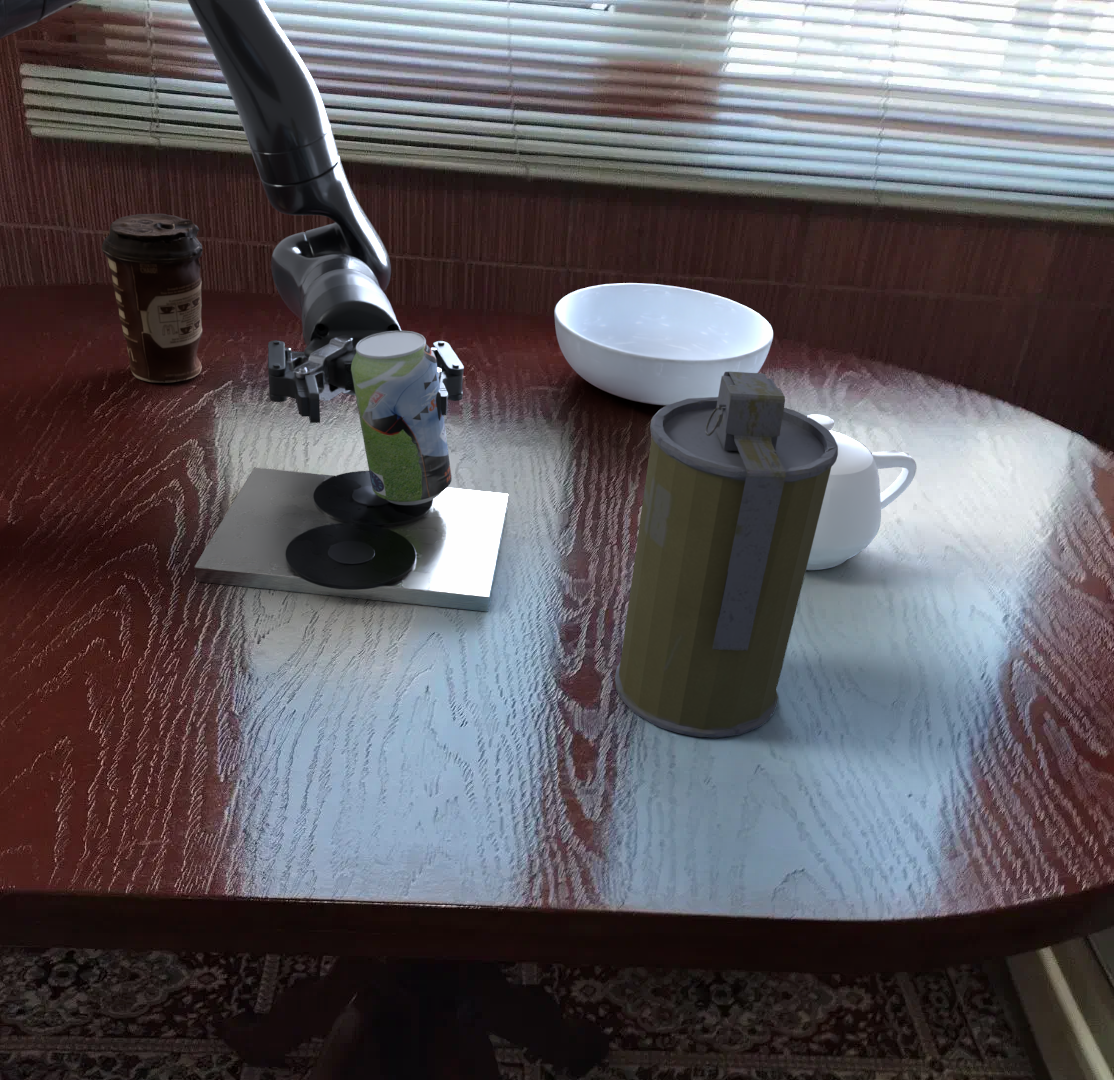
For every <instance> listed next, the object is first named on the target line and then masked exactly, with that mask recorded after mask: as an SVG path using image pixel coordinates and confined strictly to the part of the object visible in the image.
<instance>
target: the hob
mask: <svg viewBox="0 0 1114 1080" xmlns="http://www.w3.org/2000/svg"><path fill="white" fill-rule="evenodd" d="M509 497H510V495H509V493H503V492H495V491H494V492H493V491H483V490H474V489H466V488H465V489H464V488H458V487H457V488H456V487H447V488H446V489H445V490H444V491H442V492H441V494H440V495H439V496H438V497H436V498H435V499H433V500H431V501H428V502H425V503H421V504H416V505H398V504H394V503H391V502H389V501H387V500H386V499H383V498H381V497H379V496H378V495H376V494H375V493H374V491H373V489H372V485H371V479H370V473H369V470H356V471H349V472H345V473H340V474H336V475H331V474H322V473H321V474H320V473H313V472H302V471H293V470H284V469H283V470H282V469H274V468H265V467H253V469H252V470H251V472H250V474H249V475H248V477H247V479H246V480H245V482H244V483H243V485H242V487H241V488H240V489H239V491H238V493H237V495H236V497H235V499H234V500H233V501H232V503H231V505H230V507H229V508H228V510H227V512H226V513H225V515H224V516H223V519H222V520H221V522H220V523H219V525H218V527H217V529H216V530H215V531H214V533H213V535H212V537H211V539H210V540H209V541H208V543H207V545H206V547H205V549H204V550H203V552H202V554H201V555H200V556H199V558H198V560H197V562H196V564H195V565H194V576H195V582H197V583H206V584H216V585H226V586H234V587H235V586H236V587H246V588H255V589H264V590H274V591H284V592H293V593H301V594H302V593H303V594H312V595H313V594H314V595H321V596H330V597H331V596H333V597H340V598H352V599H361V600H370V601H371V600H372V601H380V602H391V603H398V604H399V603H401V604H407V605H408V604H409V605H419V606H429V607H437V608H438V607H439V608H448V609H456V610H467V611H477V612H486V613H488V612H489V609H490V604H491V599H492V593H493V589H494V584H495V583H494V582H495V578H496V572H497V567H498V562H499V556H500V551H501V546H502V541H503V535H504V529H505V524H506V519H507V514H508V509H509V499H510V498H509Z"/></svg>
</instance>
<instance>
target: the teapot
mask: <svg viewBox="0 0 1114 1080" xmlns="http://www.w3.org/2000/svg"><path fill="white" fill-rule="evenodd" d="M806 416H807V417H809V418H811V419H813V420H815V421H816V422H818V423H819V424H821V425H822V426H823V427H825V428H826V429H828V430H829V431H830V433H831V434H832V435H833V436H834V438H835V440H836V443H837V446H838V456H837V459H836V462H835V463H834V465H833V466H832V467H831V471H830V475H829V479H828V483H827V487H826V491H825V495H824V499H823V503H822V507H821V511H820V515H819V519H818V523H817V527H816V531H815V535H814V540H813V544H812V548H811V552H810V556H809V560H808V564H807V568H806V571H821V570H827V569H831V568H835V567H838V566H840V565H842V564H844V563H845V562H846V561H848V560H849V559H851V558H853V557H855V556H857V555H858V554H859V553H861V552H863V551H864V550H865V549H866V548H867V547H868V546H869V545H870V544H871V543H872V541H873V540H874V539H875V537H876V536H877V534H878V532H879V530H880V529H881V528H880V527H881V521H882V510H883V509H884V508H886V507H887V506H889V505H890V504H891V503H892V502H893V501H895V500H896V499H897V498H898V497H900V496H901V495H902V494H903V493H904V492H905V491H906V490H907V489H908V488H909V486H910V485H911V484H912V482H913V481H914V479H915V475H916V472H917V463H916V460H915V459H914V458H913V457H912V456H911V455H910V454H909V452H903V451H898V450H884V451H874V452H873V451H871V450H870V449H869V448H868V447H867V446H866V445H864V444H863V443H862V442H860V441H859V440H857V439H855V438H853V437H852V436H849V435H847V434H844V433H842V432H839V431H835V430H832V429H833V427H834V426H835V421H834V419H833V418H831V417H829V416H828V415H824V414H820V413H819V414H818V413H816V414H815V413H813V414H808V415H806ZM889 468H890V469H892V468H901V472H900V474H899V476H898V477H897V478H896V480H894V482H893V483H892V484H891V485H890V486H888V487H887V488H886V489H885V490H884V491H883V492H881V484H880V476H879V475H880V474H879V470H882V469H889Z"/></svg>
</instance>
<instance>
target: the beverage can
mask: <svg viewBox="0 0 1114 1080" xmlns="http://www.w3.org/2000/svg"><path fill="white" fill-rule="evenodd" d="M356 351H357V352H356V354H355V356H354V358H353V361H352V365H351V371H352V377H353V383H354V388H355V394H356V395H355V399H356V404H357V411H358V416H359V421H360V428H361V433H362V434H361V435H362V439H363V445H364V450H365V455H366V462H367V467H368V471H369V473H370V479H371V485H372V489H373V491H374V493H375V494H376V495H378V496H379V497H381V498H383V499H386V500H387V501H389V502H391V503H394V504H398V505H416V504H421V503H425V502H428V501H431V500H433V499H435V498H436V497H438V496H439V495H440V494H441V492H442V491H444V490H445V489H446V488H449V486H450V485H451V483H452V471H451V463H450V453H449V447H448V440H447V432H446V424H445V415H442V413H441V418H440V420H439V418H438V412H437V405H436V395H437V392H438V391H439V390H440V385H439V377H438V369H437V362H436V357H435V355H434V353H433V351H432V350H431V347H430V346H429V345H428V344H427V339H426V338H425V336H424V335H423V334H421V333H418V332H416V331H412V330H411V331H410V330H401V331H388V332H382V333H377V334H374V335H371V336H368V337H366V338H364V339H362V340H360V341H359V342H358V343H357V345H356Z"/></svg>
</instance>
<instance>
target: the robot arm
mask: <svg viewBox="0 0 1114 1080" xmlns="http://www.w3.org/2000/svg"><path fill="white" fill-rule="evenodd" d="M81 1H82V0H0V40H2V39H5V38H6V37H10V36H11V35H13V34H16V33H18V32H20V31H22V30H24V29H27V28H29V27H31V26H33V25H35V24H38V23H39V22H41V21H43V20H45V19H47V18H48V17H51V16H52V15H54V14H56V13H58V12H61V11H63V10H64V9H66V8H69V7H70V6H72V5H73V6H74V5H75V4H77V3H79V2H81ZM187 3H188V5H189V7H190V8H191V11H192V12H193V15H194V17H195V18H196V21H197V23H198V25H199V26H200V29H201V31H202V33H203V35H204V37H205V40H206V41H207V43H208V45H209V47H210V50H211V52H212V54H213V56H214V58H215V61H216V62H217V65H218V66H219V69H220V71H221V74H222V76H223V79H224V81H225V83H226V86H227V88H228V91H229V93H230V95H231V98H232V101H233V104H234V106H235V108H236V112H237V114H238V117H239V119H240V123H241V125H242V129H243V131H244V134H245V137H246V141H247V143H248V146H249V149H250V153H251V155H252V158H253V161H254V164H255V166H256V170H257V173H258V175H259V179H260V181H261V184H262V187H263V190H264V193H265V196H266V198H267V200H268V202H269V203H270V205H271V206H272V208H273V209H275V210H276V211H277V212H278V213H281V214H284V215H289V216H321V217H326V218H328V219H330V220H331V221H333V223H330V224H327V225H323V226H319V227H316V228H313V229H309V230H306V231H305V232H304V231H301V232H298V233H295V234H292V235H291V234H290V235H289V236H286V237H285V238H283V239H282V240H280V241H279V242H278V244H277V245H276V246H275V248H274V250H273V251H272V253H271V254H272V255H271V259H270V269H271V275H272V279H273V283H274V285H275V288H276V290H277V292H278V294H279V296H280V298H281V300H282V301H283V302H284V304H285V305H286V307H287V308H288V309H289V310H290V311H291V312H292V313H293V314H294V315H295V316H296V317H297V318H298V319H300V320H301V325H302V337H303V341H304V344H305V345H306V347H305V348H304V350H303V351H292V348H291V347H286V344H285V342H284V341H282V340H277V339H275V340H274V339H273V340H270V341H269V342H268V343H267V369H268V370H267V374H268V389H269V400H270V401H271V402H274V403H283V402H286V401H287V400H288V398H291V399H294V400H295V404H296V406H297V411H298V415H299V416H301V417H304V418H305V417H307V418H308V421H309V424H320V423H321V403H320V401H324V402H328V401H330V400H332V399H334V398H336V397H337V396H339V395H341V394H344V395H350V396H356V394H355V388H354V383H353V377H352V371H351V365H352V361H353V358H354V356H355V354H356V352H357V351H356V345H357V343H358V342H359V341H360V340H362V339H364V338H366V337H368V336H371V335H374V334H377V333H382V332H388V331H402V329H401V326H400V324H399V321H398V319H397V316H396V314H395V312H394V308H393V307H392V304H391V302H390V300H389V298H388V297H387V295H386V294H385V291H386V290H387V289H388V286H389V284H390V281H391V275H392V264H391V260H390V256H389V253H388V251H387V248H386V246H385V244H384V243H383V241H382V238H381V237H380V235H379V233H378V232H377V230H376V228H375V227H374V225H373V224H372V223H371V221H370V220H369V218H368V216H367V214H366V213H365V211H364V209H363V208H362V206H361V205H360V203H359V201H358V200H357V197H356V195H355V193H354V191H353V189H352V187H351V185H350V182H349V180H348V178H347V175H346V172H345V169H344V167H343V164H342V161H341V157H340V154H339V150H338V147H337V143H336V140H335V136H334V132H333V129H332V125H331V122H330V119H329V115H328V113H327V108H326V106H325V104H324V100H323V98H322V95H321V92H320V90H319V89H318V86H317V84H316V82H315V80H314V78H313V76H312V74H311V71H309V69H308V67H307V65H306V64H305V62H304V60H303V59H302V58H301V56H300V54H299V53H298V52H297V50H296V49H295V47H294V46H293V44H292V42H291V41H290V39H289V38H288V36H287V35H286V34H285V32H284V30H283V29H282V28H281V26H280V25H279V23H278V21H277V20H276V18H275V17H274V15H273V13H272V12H271V10H270V8H269V7H268V5H267V4H266V2H265V0H187ZM430 349H431V350H432V351H433V353H434V355H435V357H436V362H437V369H438V377H439V385H440V390H439V391H438V392H437V395H436V405H437V412H438V418H439V420H440V418H441V413H442V415H444V416H447V415H448V410H449V409H448V408H449V401H453V402H458V401H462V400H463V398H464V397H463V396H464V395H463V394H464V393H463V380H464V373H465V372H464V371H465V366H464V365H463V363H462V361H461V360H460V358H459V357H458V355H457V354H456V352H455V351H454V350H453V348H452V347H451V345H450V343H448V342H447V341H443V340H438V341H434V342H433V345H432V347H430Z"/></svg>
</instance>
